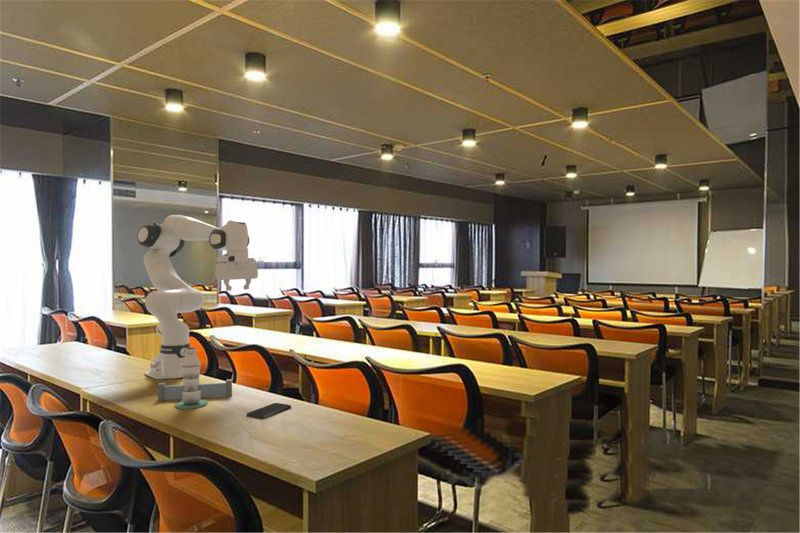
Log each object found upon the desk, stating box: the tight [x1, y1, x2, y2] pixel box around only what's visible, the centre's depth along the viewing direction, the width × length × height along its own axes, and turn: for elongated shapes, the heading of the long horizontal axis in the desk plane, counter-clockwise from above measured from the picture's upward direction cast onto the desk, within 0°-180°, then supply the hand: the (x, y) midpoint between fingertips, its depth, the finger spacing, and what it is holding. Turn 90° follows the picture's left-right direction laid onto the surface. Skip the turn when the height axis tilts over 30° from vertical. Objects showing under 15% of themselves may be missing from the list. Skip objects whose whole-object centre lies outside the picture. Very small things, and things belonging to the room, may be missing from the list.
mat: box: [174, 399, 208, 410], centre depth 184 cm, size 11×11×1 cm
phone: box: [246, 402, 292, 420], centre depth 176 cm, size 8×1×15 cm
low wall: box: [157, 378, 233, 401], centre depth 194 cm, size 26×2×6 cm, turn 103°
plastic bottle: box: [181, 346, 202, 404], centre depth 184 cm, size 6×7×20 cm
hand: (237, 290), depth 220 cm, fingers open, 8 cm apart
